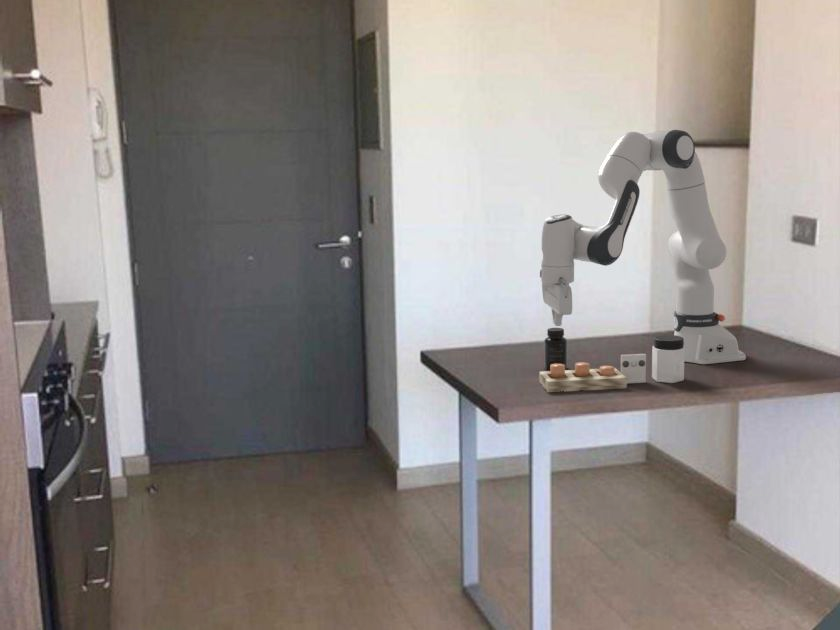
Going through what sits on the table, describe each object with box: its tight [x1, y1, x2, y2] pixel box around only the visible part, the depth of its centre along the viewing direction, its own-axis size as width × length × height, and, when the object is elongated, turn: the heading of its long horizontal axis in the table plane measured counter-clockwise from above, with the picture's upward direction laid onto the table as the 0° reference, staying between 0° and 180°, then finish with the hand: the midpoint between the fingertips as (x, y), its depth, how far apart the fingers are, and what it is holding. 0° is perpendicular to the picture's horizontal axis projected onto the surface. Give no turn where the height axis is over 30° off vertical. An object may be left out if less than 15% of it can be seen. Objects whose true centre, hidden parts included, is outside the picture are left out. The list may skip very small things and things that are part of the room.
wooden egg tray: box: [538, 367, 628, 393], centre depth 276 cm, size 22×11×3 cm, turn 95°
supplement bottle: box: [543, 327, 568, 371], centre depth 293 cm, size 7×7×12 cm
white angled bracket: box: [620, 353, 647, 384], centre depth 277 cm, size 7×3×8 cm, turn 95°
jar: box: [651, 334, 685, 384], centre depth 278 cm, size 9×8×12 cm
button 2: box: [599, 365, 615, 376], centre depth 276 cm, size 4×4×3 cm
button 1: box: [549, 364, 566, 378], centre depth 274 cm, size 4×4×3 cm
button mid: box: [574, 361, 591, 376], centre depth 275 cm, size 4×4×3 cm
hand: (557, 325), depth 272 cm, fingers closed
